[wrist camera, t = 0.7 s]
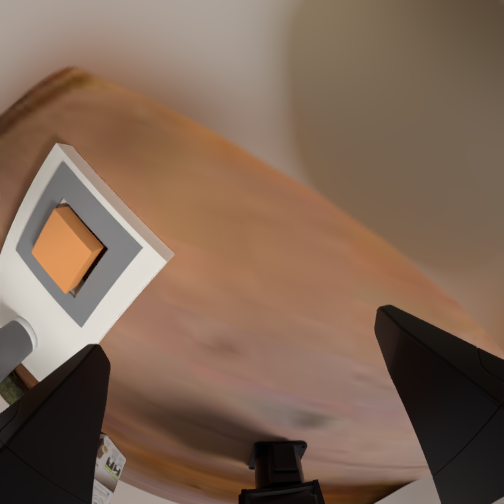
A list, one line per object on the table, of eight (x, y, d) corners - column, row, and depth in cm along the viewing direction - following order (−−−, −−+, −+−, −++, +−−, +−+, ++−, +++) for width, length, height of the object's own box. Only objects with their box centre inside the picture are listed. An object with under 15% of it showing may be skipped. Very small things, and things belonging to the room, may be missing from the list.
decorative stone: (-7, 364, 25) (-23, 379, 20) (-9, 331, 24) (-29, 347, 19) (42, 407, 26) (28, 427, 22) (43, 379, 25) (25, 400, 20)
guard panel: (72, 145, 19) (54, 142, 17) (175, 253, 22) (165, 263, 19) (-6, 307, 23) (-18, 315, 20) (65, 386, 25) (55, 399, 22)
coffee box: (105, 432, 27) (66, 520, 11) (127, 459, 28) (100, 541, 13) (62, 426, 27) (20, 497, 11) (84, 452, 29) (52, 521, 13)
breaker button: (68, 206, 19) (54, 208, 17) (103, 246, 19) (91, 252, 17) (44, 247, 19) (31, 252, 17) (77, 285, 20) (65, 293, 18)
